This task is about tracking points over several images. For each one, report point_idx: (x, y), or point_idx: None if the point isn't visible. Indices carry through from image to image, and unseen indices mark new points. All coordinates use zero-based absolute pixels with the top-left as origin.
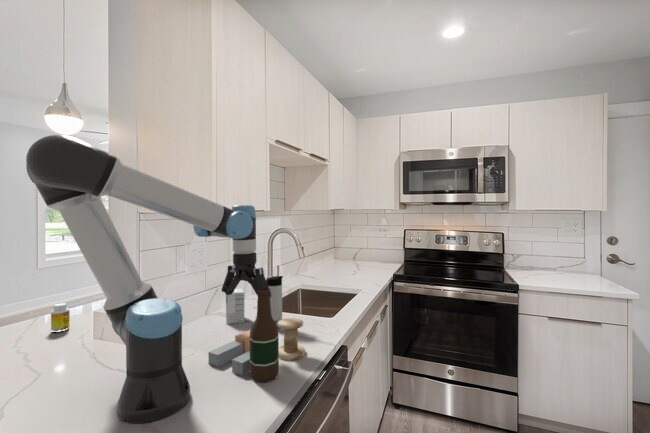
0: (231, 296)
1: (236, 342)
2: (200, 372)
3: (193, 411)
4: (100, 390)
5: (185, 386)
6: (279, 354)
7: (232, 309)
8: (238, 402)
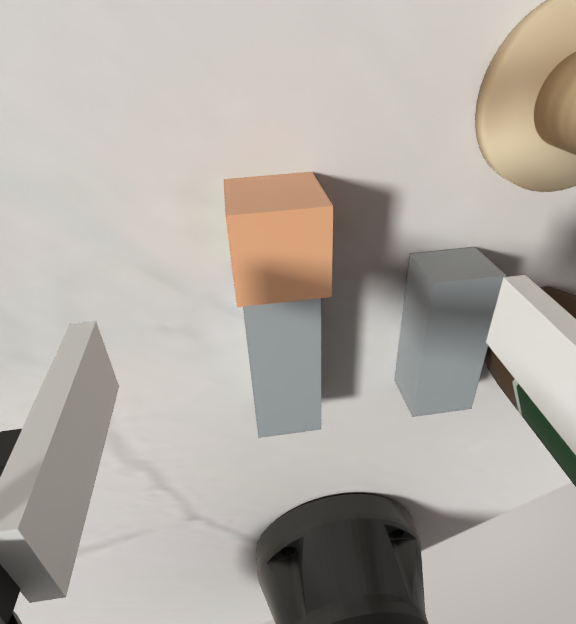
0: (57, 538)
1: (278, 310)
2: (291, 438)
3: (444, 508)
4: (156, 591)
5: (389, 531)
6: (533, 189)
7: (97, 380)
8: (526, 444)
